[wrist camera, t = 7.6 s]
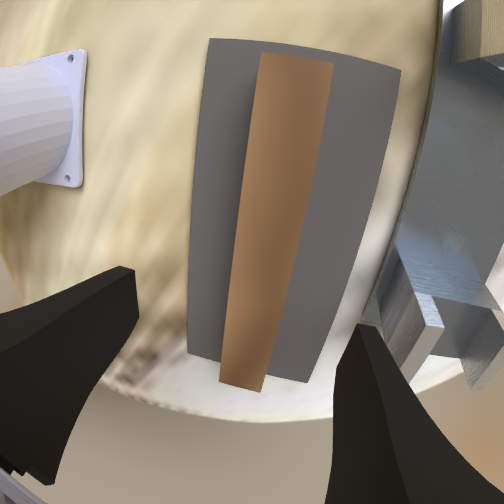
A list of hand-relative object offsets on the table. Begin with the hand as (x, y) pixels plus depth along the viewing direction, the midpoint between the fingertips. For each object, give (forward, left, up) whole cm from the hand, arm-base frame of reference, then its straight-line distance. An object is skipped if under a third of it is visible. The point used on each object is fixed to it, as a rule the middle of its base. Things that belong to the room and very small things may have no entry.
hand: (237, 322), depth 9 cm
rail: (0, 0, -6) cm, 6 cm away
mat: (0, 0, -6) cm, 6 cm away
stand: (+9, +5, -6) cm, 12 cm away
